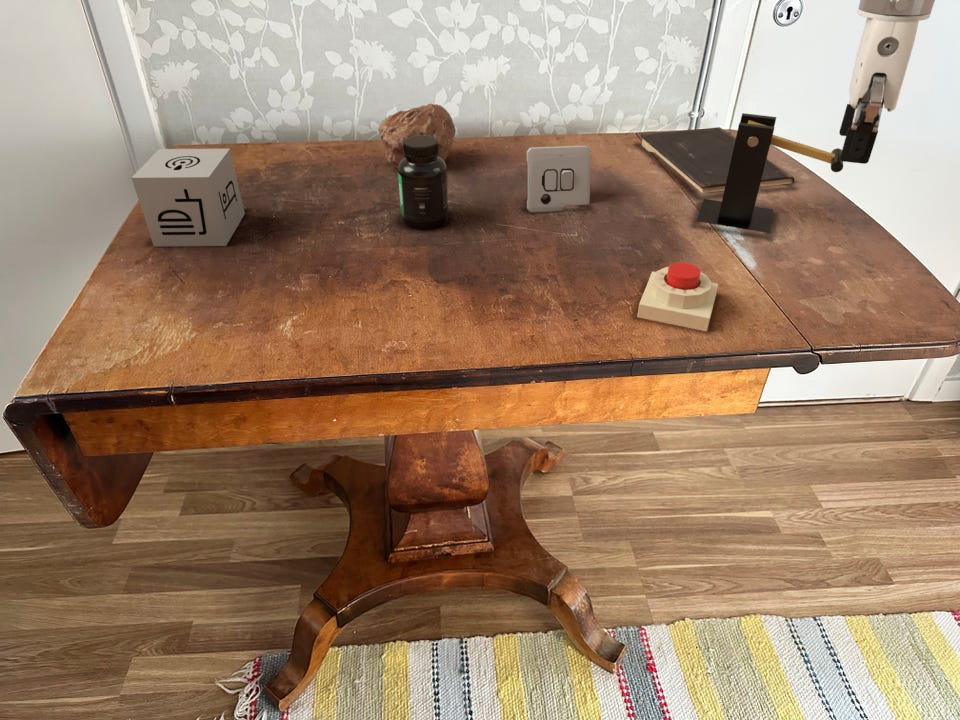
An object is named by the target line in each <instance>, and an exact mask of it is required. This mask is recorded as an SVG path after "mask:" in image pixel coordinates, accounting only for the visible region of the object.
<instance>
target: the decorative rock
mask: <svg viewBox="0 0 960 720" xmlns="http://www.w3.org/2000/svg"><path fill="white" fill-rule="evenodd" d="M377 130H378V134H379V138H380V139H381V141H382V143H383V147H384V155H385V159H386V160H387V162H388V163H389V164H390V165H391V166H392V167H394V168H396V170H398V165H399V163H400V161H401V160H402V159H403V158H405V157H404V155H403V141H404V140H405V139H406V138H408V137H411V136H417V135H427V136H432V137H435V138H437V140H438V145H439V155H438V156H439V157H440V158H442V159H443V160H444V162H446V160H447V157H448V156H449V155H450V152H451V151H452V147H453V146H452V145H453V141H454V138H455V136H456V131H457V130H456V125H455V123H454V122H453V119H452V116H451V114H450V113H449V112H448V110H447V109H446V108H445V107H443V105H440V104H438V103H436V104H434V103H428V104H427V105H420V106H418V107H412V108H410V109H407V110H399V111H397V112H395V113H393V114H389V115H388V116H387V117H385V118H384V119H382V120H381V122H380V124H379V126H378V128H377Z"/></svg>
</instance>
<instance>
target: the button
mask: <svg viewBox="0 0 960 720" xmlns="http://www.w3.org/2000/svg"><path fill="white" fill-rule="evenodd" d="M668 267H669V268H668V273H667V279H666V283H667V285H669V286H671V287H673V288H676V289H681V290H692V289H695V288H696V287H697V286H698V282H699V277H700V272H701V270H700V268H698V267H697V266H696V265H694V264H692V263H688V262H675V263H672V264H670V265H669V266H668Z"/></svg>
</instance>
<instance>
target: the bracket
mask: <svg viewBox="0 0 960 720" xmlns="http://www.w3.org/2000/svg"><path fill="white" fill-rule="evenodd" d="M749 120H750V121H753V122H757V123H760V124H763V125H756V124H747V123H748V121H749ZM776 121H777V116H771V115H762V114H753V113H745V112H743V113H741V117H740V122H739V123H738V126H737V132H736V136H735V138H736V140H735V144H734V149H733V153H732V158H731V162H730V167H729V171H728V176H727V180H726V185H725V189H724V191H723V195H722V199H721V201H720V200H715V199H707V198H703V200H702V203H701V205H700V210H699V211H698V215H697V218H696V222H699V223H706V224H710V225H718V226H723V227H730V228H736V229H741V230H749V231H753V232H754V231H755V232H761V233H766V234H770V233H771V230H772V221H773V217H774V209H773V208H768V207H761V206H756V203H757V199H758V195H759V190H760V188H761V187H760V183H761V179H762V175H763V171H764V167H765V163H766V159H767V160H768V155H769V151H770V148H771V145H770V144H771V140H772V136H773V135H774V132H775V125H776ZM764 125H766V126H764Z"/></svg>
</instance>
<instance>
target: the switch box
mask: <svg viewBox="0 0 960 720" xmlns="http://www.w3.org/2000/svg"><path fill="white" fill-rule="evenodd" d="M668 268H669V266H665V267H663V268H660V269H659V270H657V271H651V274H650V275H649V279H648V281H647V283H646V286H645V288H644V290H643V293H642V296H641V299H640V301H639V303H638V310H637V316H636V317H637V318H639V319H644V320H649V321H654V322H659V323H664V324H668V325H673V326H678V327H682V328H683V327H684V328H688V329H693V330H698V331H701V332H708V329H709V324H710V321H711V316H712V313H713V309H714V304H715V301H716V297H717V292H718V288H719V283H717V282H712V281H711V279H710V278H709V277H708V275H707V274H706V273H703V272H702V271H700V277H699V282H698V286H697V287H696V288H695V289H692V290H681V289H676V288H673V287H671V286H669V285H667V283H666V279H667V273H668Z"/></svg>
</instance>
